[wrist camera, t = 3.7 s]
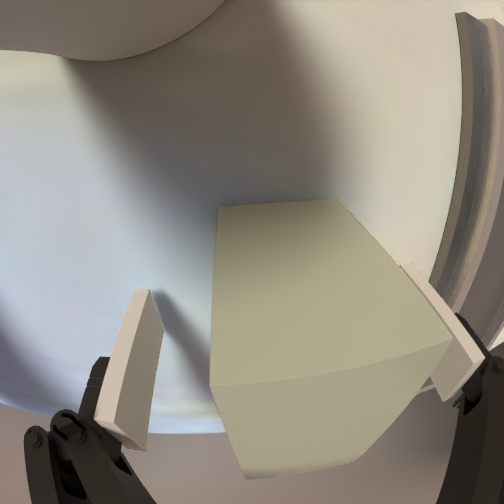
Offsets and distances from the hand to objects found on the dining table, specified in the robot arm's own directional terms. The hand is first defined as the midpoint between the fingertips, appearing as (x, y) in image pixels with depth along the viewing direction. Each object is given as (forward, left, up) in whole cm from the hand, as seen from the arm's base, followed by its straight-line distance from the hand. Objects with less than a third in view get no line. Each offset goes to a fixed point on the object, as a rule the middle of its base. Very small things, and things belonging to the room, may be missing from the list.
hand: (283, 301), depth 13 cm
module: (0, 0, -1) cm, 1 cm away
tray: (+16, +1, -1) cm, 16 cm away
